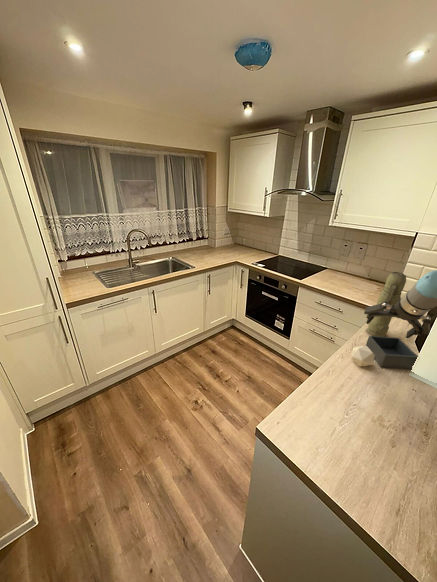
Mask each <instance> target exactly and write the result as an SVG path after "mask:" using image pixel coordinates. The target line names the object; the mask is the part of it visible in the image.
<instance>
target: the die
mask: <svg viewBox="0 0 437 582" xmlns="http://www.w3.org/2000/svg"><path fill="white" fill-rule="evenodd" d="M350 357H351V358H352V360H353V361H354V362H355V363H356V365H358V367H366V366H374V361H375V359H374V357H375V355H374V354H373V352H372V351H371V350H370V349H369V348H368V347H367V346H366V345H361V346H355V347H353V349H352V352H351V356H350Z"/></svg>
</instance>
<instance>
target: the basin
mask: <svg viewBox="0 0 437 582" xmlns="http://www.w3.org/2000/svg"><path fill="white" fill-rule="evenodd" d="M365 346H367V347H368V348H369V349H370V350H371V351H372V352H373V354H374V355H375V357H374V361H375V362H376V363H377V364H378V365H379V367H380V368H389V369H402V370H413V369H412V366H413V365H414V363H415V361H416V359H417V357H419V356H418V355H417V353H415V351H413V350H412V348H411V347H409V346H408V345H407V344H406V343H405V342H404V341H403V340H402V339H401V338H399V337H394V336H385V337H379V336H372V335H369V336H368V338H367V341H366V343H365Z"/></svg>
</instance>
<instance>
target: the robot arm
mask: <svg viewBox="0 0 437 582" xmlns="http://www.w3.org/2000/svg"><path fill="white" fill-rule="evenodd" d="M387 303H388V302H386V301H384V302H382V303H381V304H377V303H376V304H373V305H370V306H367V307H365V309H364V312H363V314H364V315H366V323H365V324H367V325H369V323H370V322H371V321H372V320H373V318H374V317H378V316H388V317H392V318H397V319H401V320H403V321H407V322H408V324H409V325H411V327H412V328H410V329H409V330H407V331H406V335H405V339H409V338H411V337H413V336H419V337H421V336H422V335H423V334H424V335H425V336H429V335H430V332H431V322H432V321H431V320H432V315H431V314H427V313H428V312H430V311H431V310H433V309H434V308H436V307H437V269H435V270H431V271H429V272H426V273H425V274H424V275H423V276H422V277H420V278H419V279H418V280H417V281H416V283H415V284H414V285H413V286H412V287H411V288H410V289H409V290H407V292H406V293H405V294H404V295H403V296H402V297H401V299H400V300H399V301H398V302H397V303H396V304H395V305H392V306H391V305H388V304H387ZM425 314H427V315H425ZM419 320H421V322H422V323H421V322H420V321H419Z"/></svg>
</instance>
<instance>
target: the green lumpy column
mask: <svg viewBox="0 0 437 582" xmlns="http://www.w3.org/2000/svg"><path fill="white" fill-rule="evenodd" d="M406 284H407V275H406V274H404V273H402V272H398V271H393V272H391V273H390V274H389V275H388V277H387V278H386V281H385V283H384V288H383V289H382V291H381V292H380V293H379V296H378V299H377V301H376V305H377V304H381V303H382V302H384V301H386V302H388V303H387V304H388V305H391V306H392V305H395V304H396V303H397V302H398V301H399V300H400V299H401V298H402V297H401V296H402V292H403V290H404V288H405V286H406ZM392 319H393V317H388V316H378V317H374V318H373V320H372V321H371V322H370V323H369V324H367V325H368V326H367V330H366V332H367V333H368V334H369V336H379V337H386V335H387V333H388V332H389V330H390V323H391V322H392Z"/></svg>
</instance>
